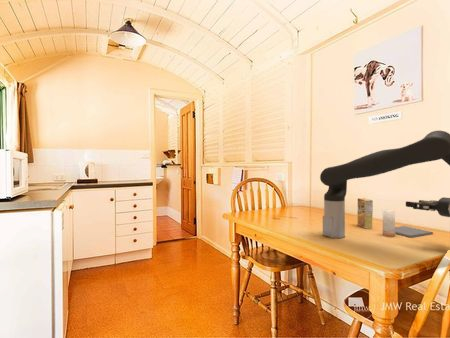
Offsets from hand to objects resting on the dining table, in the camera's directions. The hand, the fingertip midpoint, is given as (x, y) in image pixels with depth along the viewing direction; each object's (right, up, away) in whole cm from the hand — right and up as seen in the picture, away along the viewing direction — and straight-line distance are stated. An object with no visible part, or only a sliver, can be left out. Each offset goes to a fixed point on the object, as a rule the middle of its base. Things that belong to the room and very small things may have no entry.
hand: (412, 203), depth 117 cm
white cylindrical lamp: (-4, -17, +11) cm, 20 cm away
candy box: (-6, -17, +28) cm, 33 cm away
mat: (+8, -17, +16) cm, 24 cm away
